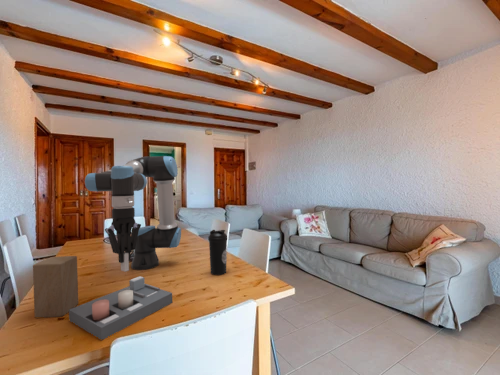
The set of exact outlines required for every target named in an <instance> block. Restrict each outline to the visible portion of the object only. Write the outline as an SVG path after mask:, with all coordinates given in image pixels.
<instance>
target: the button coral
mask: <svg viewBox="0 0 500 375" xmlns="http://www.w3.org/2000/svg"><path fill="white" fill-rule="evenodd" d="M92 317H93V321H101V320H103V319H105V318H107V317H109V300H106V299H104V300H99V301H96V302H94V303H93V304H92Z"/></svg>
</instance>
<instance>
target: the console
mask: <svg viewBox="0 0 500 375" xmlns="http://www.w3.org/2000/svg"><path fill="white" fill-rule="evenodd" d="M124 290H130V285H128V286H125V287H123V288H121V289H118V290H116V291H113V292H110V293H108V294H106V295H102V296H101V297H98V298H95V299H92V300H90V301H88V302H85V303H82V304H79V305H76V306H75V307H74V308H72V309H69V312H68V321H69V320H70V321H69V322H71V323H72V322H73V324H74V323H75V326H77V325H78V326H77V327H79V328H81V329H82V328H83V329H82V330H83V331H86V332H87V333H89V334H90V333H91V335H92V334H93V335H92V336H93V337H95V336H96V338H97V337H98V338H97V339H99V340H100V339H101V340H100V341H103V340H105V339H107V338H109V337H111V336H113V335H115V334H117V333H119V332H121V331H122V330H124V329H125V328H128V327H129V326H132V325H133V324H136V323H137V322H139V321H140V320H143V319H144V318H146V317H148V316H150V315H152V314H153V313H155V312H158V311H159V310H162V309H163V308H165V307H166V306H167V307H168V306H169V305H171V304H173V292H171V291H168V290H164V289H161V288H160V287H157V286H154V285H151V284H147V283H145V287H144V288H141V289H139V290H136V291H133V290H132V291H133V306H131V307H129V308H127V309H119V308H118V293H119V292H121V291H124ZM104 299H106V300H109V317H107V318H105V319H103V320H101V321H93V317H92V304H93V303H94V302H96V301H99V300H104ZM116 332H117V333H116ZM114 333H115V334H114ZM112 334H113V335H112ZM110 335H111V336H110ZM108 336H109V337H108ZM102 339H103V340H102Z"/></svg>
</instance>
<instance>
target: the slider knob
mask: <svg viewBox="0 0 500 375" xmlns="http://www.w3.org/2000/svg"><path fill="white" fill-rule="evenodd" d="M145 284H146V283H145V277H143V276H140V275H139V276H137V277H134V278H132V279H129V286H130V290H133V291H136V290H139V289H141V288H144V287H145Z"/></svg>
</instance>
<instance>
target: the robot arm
mask: <svg viewBox="0 0 500 375" xmlns="http://www.w3.org/2000/svg"><path fill="white" fill-rule="evenodd" d="M178 171H179V170H178V164H177V162H176V160H175V158H174V157H173V156H169V155H168V156H167V155H160V156H157V155H156V156H153V155H152V156H148V155H147V156H141V157H138V158H135V159H131V160H129V161H126V163H125V164H123V165H113V166H112V167H111V169H109V170H106V171H101V172H91V173H90V172H89V173H87V175H86V176H85V178H84V186H85V188H86V190H87V191H89V192H97V193H98V192H111V207H112V209H111V219H112V221H111V225H109V227H107V228H105V229H104V232H105V233H106V234H107V236H108V237H107V238H108V239H109V243H110V247H111V250H112V253H113V254H117V255H118V263H120V271H121V272H125V273H126V272H129V271H130V267H131V269H132V270H135V271H144V270H150V269H154V268H156V267H157V266H159V265H160V260H159V257H158V254H157V252H156V249H172V248H177V247H178V246H179V245H180V242H181V238H182V229H181V227H179V225H178V223H177V222H176V221H175V219H176V218H175V206H174V205H175V204H174V190H173V182H174V181H175V178H176V177H177V176H178V174H179V173H178ZM147 178H152V179H153V180H152V181H153V182H154V183H156V193H157V195H156V196H157V197H156V198H157V207H158V222H159V224H157V226H156V225H146V226H142V224H140V223H138V222H136V219H135V216H136V215H135V214H136V213H135V212H136V210H135V207H134V206H135V192H136V191H137V192H138V191H141V190H144V189H145V188H146V186H147V184H148V180H147ZM141 226H142V227H141ZM132 253H134V254H133V258H132V261H131V254H132ZM130 261H131V263H129V262H130ZM130 264H131V266H130Z"/></svg>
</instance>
